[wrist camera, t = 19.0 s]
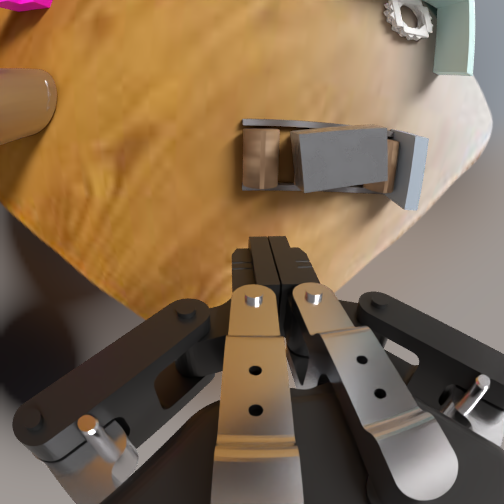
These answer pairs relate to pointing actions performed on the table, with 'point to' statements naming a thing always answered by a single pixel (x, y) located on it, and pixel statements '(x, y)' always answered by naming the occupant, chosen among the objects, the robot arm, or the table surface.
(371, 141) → the slab
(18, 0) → the magenta curved bracket
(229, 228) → the table surface
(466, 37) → the l-shaped corner panel
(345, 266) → the table surface
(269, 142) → the roller bed
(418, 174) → the stop gate
